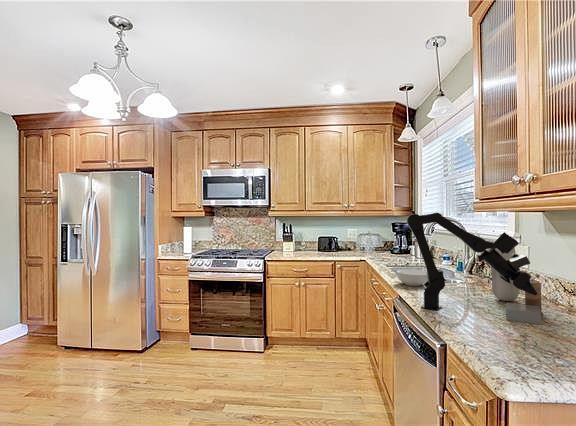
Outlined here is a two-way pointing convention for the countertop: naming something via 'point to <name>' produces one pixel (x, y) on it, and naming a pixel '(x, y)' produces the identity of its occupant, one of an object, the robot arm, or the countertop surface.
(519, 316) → the slate block
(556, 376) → the countertop surface
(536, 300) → the pepper mill
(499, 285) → the grey bottle
